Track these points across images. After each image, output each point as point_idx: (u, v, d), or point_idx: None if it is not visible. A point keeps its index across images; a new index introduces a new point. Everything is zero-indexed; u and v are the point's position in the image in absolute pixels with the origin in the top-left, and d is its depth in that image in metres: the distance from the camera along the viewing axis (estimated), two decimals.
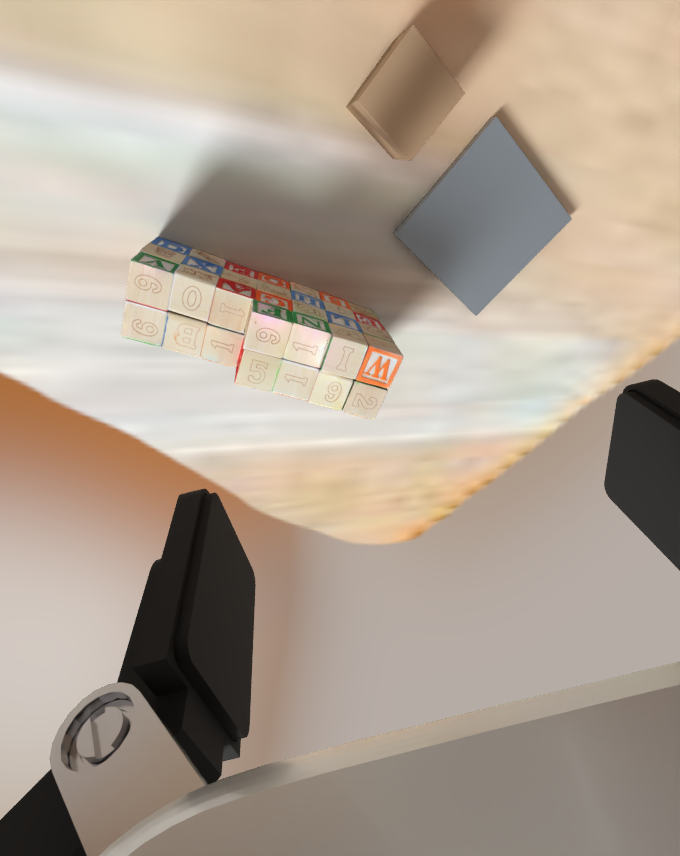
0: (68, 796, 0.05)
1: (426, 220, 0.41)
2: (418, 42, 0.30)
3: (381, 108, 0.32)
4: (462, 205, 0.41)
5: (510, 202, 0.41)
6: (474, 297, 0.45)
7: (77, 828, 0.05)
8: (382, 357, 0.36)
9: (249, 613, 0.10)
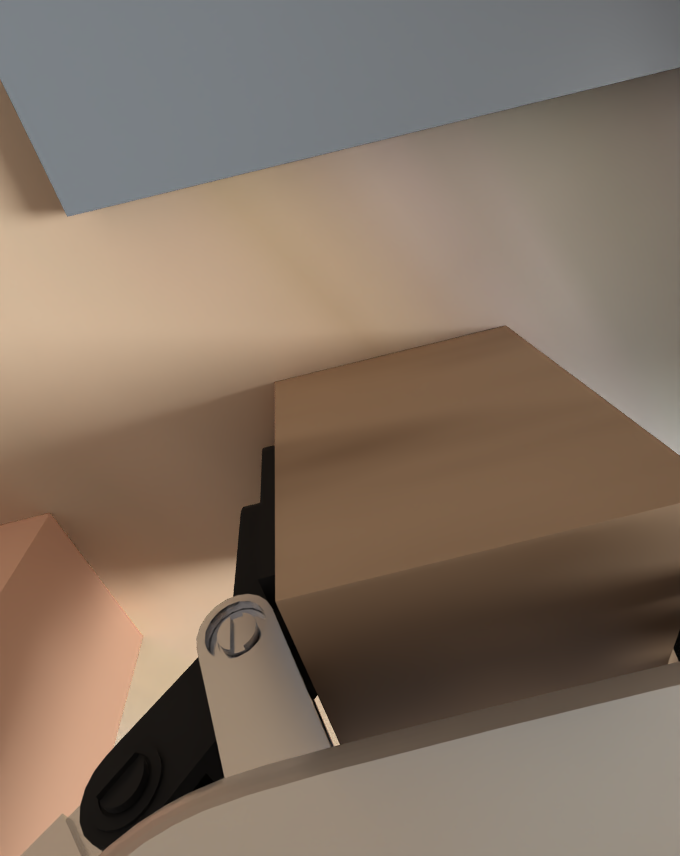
0: (206, 674, 0.06)
1: None
2: None
3: None
4: None
5: None
6: None
7: (210, 702, 0.06)
8: None
9: None
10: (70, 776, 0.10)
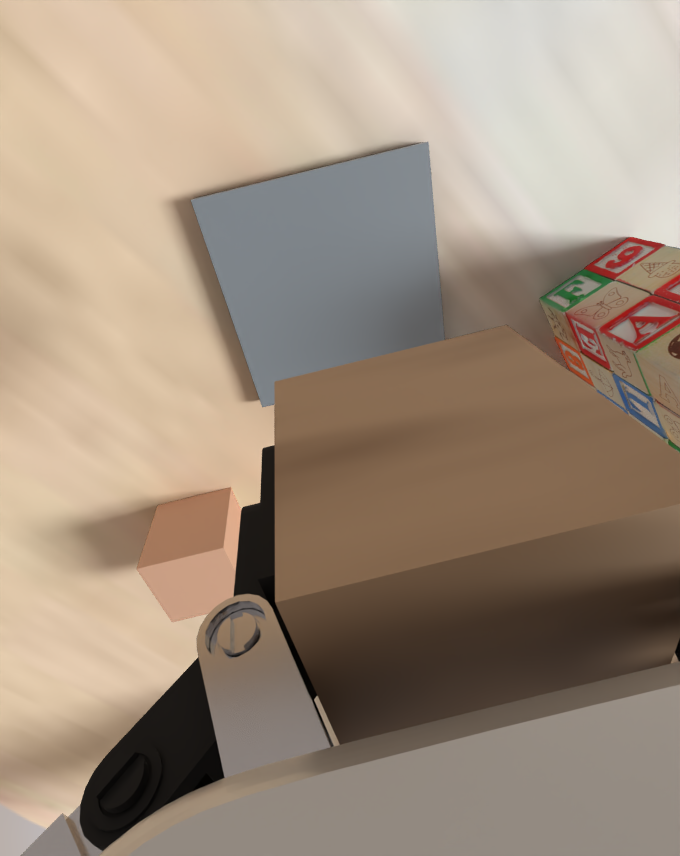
0: (206, 674, 0.06)
1: None
2: None
3: None
4: (349, 340, 0.27)
5: (284, 299, 0.25)
6: (410, 183, 0.23)
7: (210, 702, 0.06)
8: None
9: None
10: None
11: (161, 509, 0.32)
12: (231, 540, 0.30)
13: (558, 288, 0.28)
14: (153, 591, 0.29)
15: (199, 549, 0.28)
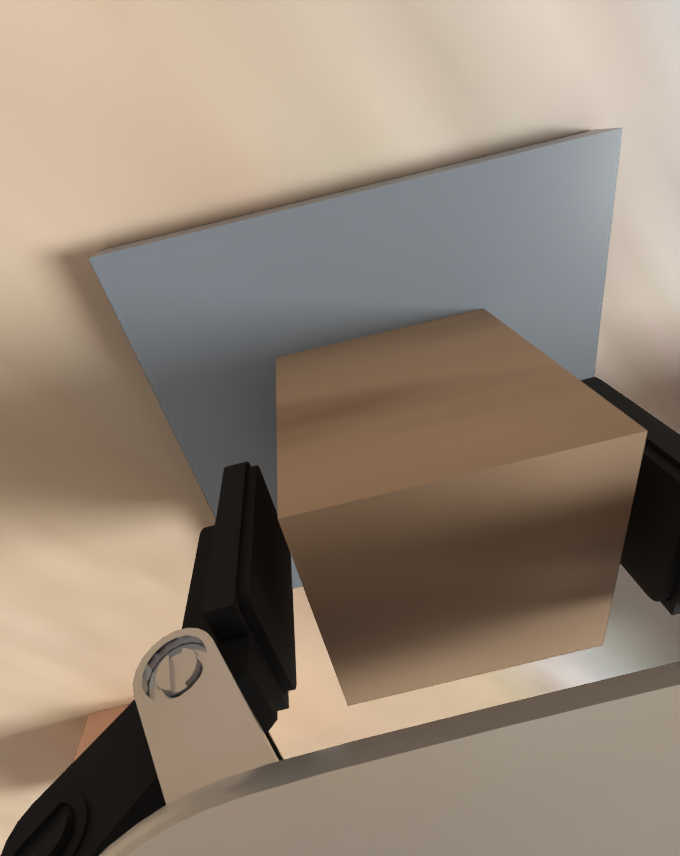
0: (146, 720, 0.06)
1: None
2: (358, 677, 0.09)
3: (572, 608, 0.09)
4: None
5: None
6: (567, 218, 0.11)
7: (152, 750, 0.06)
8: None
9: (288, 580, 0.10)
10: None
11: (93, 725, 0.20)
12: None
13: None
14: None
15: None
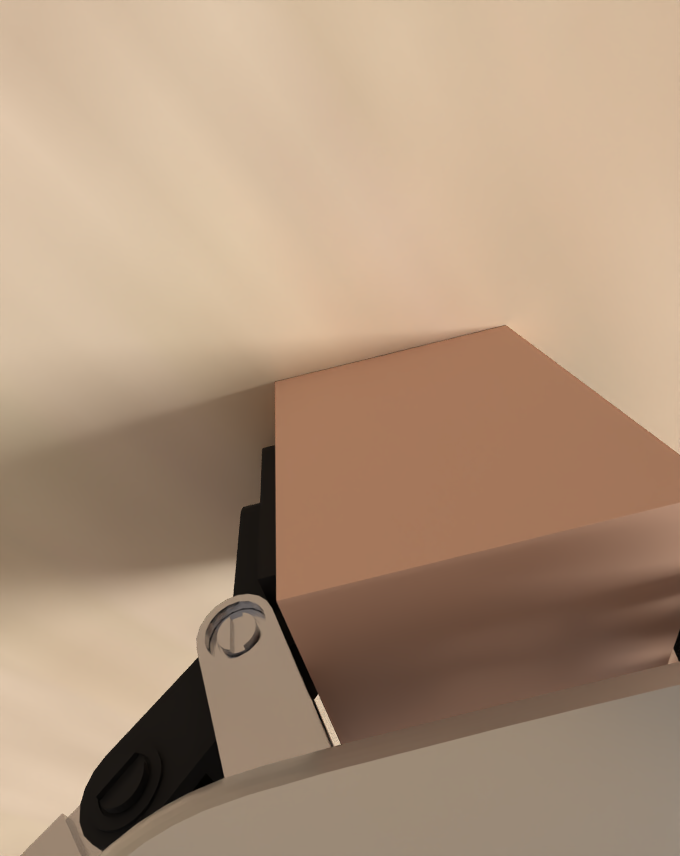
0: (206, 674, 0.06)
1: None
2: None
3: None
4: None
5: None
6: None
7: (209, 702, 0.06)
8: None
9: None
10: None
11: (294, 390, 0.10)
12: None
13: None
14: (326, 693, 0.07)
15: (579, 501, 0.06)
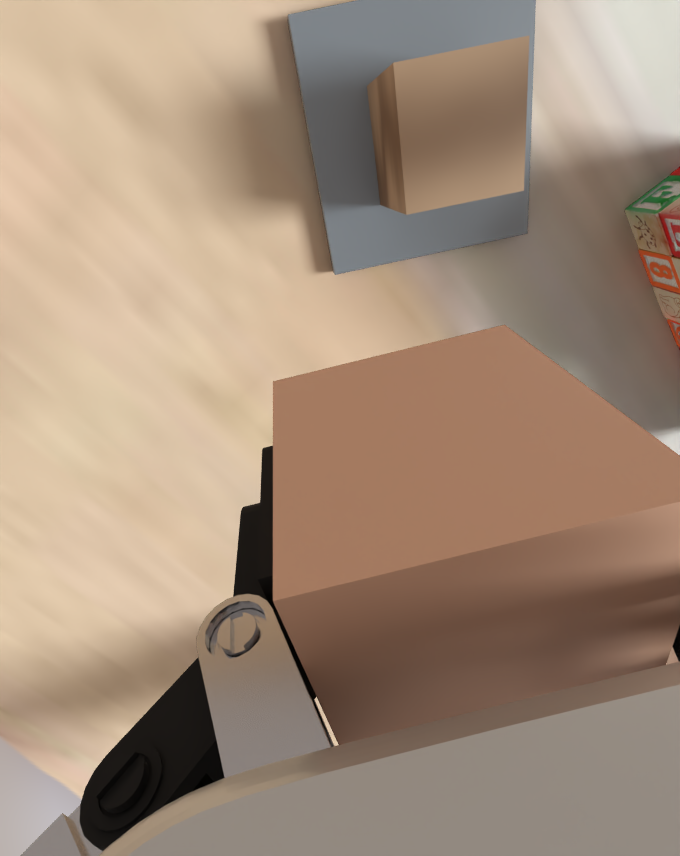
0: (206, 674, 0.06)
1: (483, 219, 0.27)
2: (413, 189, 0.20)
3: (508, 154, 0.20)
4: None
5: (370, 144, 0.24)
6: (513, 12, 0.22)
7: (209, 702, 0.06)
8: None
9: None
10: None
11: (292, 389, 0.10)
12: None
13: (644, 196, 0.28)
14: (324, 694, 0.06)
15: (577, 500, 0.06)
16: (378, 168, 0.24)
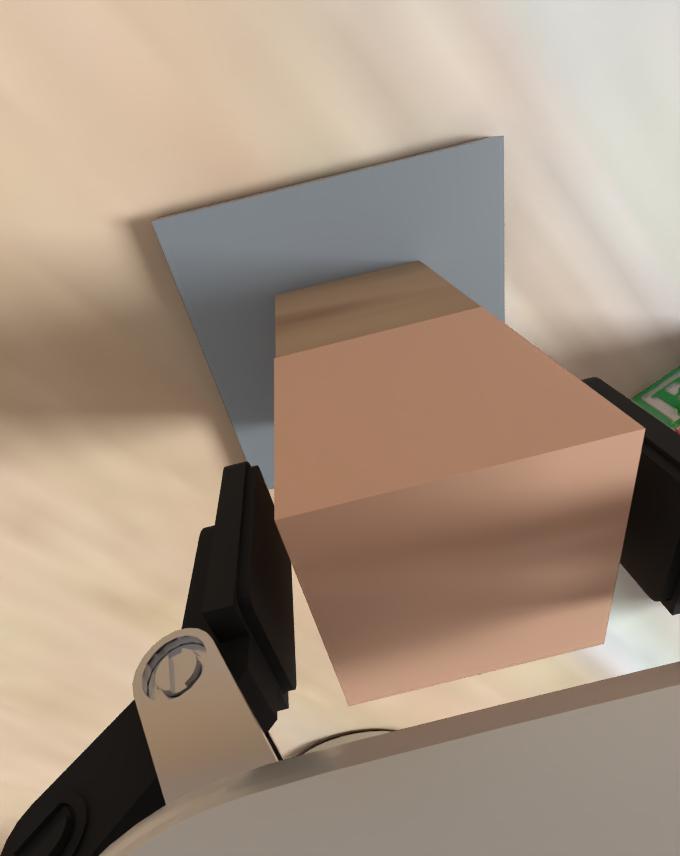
0: (145, 720, 0.06)
1: None
2: None
3: None
4: None
5: None
6: (472, 197, 0.16)
7: (151, 750, 0.06)
8: None
9: (288, 580, 0.10)
10: None
11: (291, 364, 0.11)
12: None
13: (656, 386, 0.22)
14: (318, 611, 0.08)
15: (525, 440, 0.07)
16: None
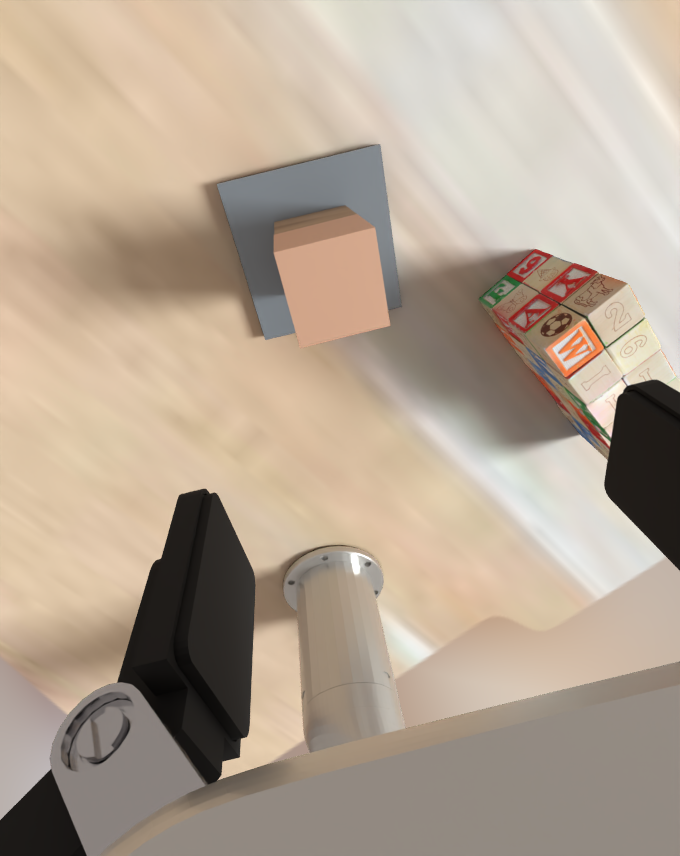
0: (69, 796, 0.05)
1: None
2: None
3: None
4: None
5: None
6: (368, 173, 0.33)
7: (78, 827, 0.05)
8: (563, 358, 0.31)
9: (249, 613, 0.10)
10: None
11: (280, 234, 0.28)
12: None
13: (490, 290, 0.40)
14: (287, 293, 0.25)
15: (345, 233, 0.24)
16: None
